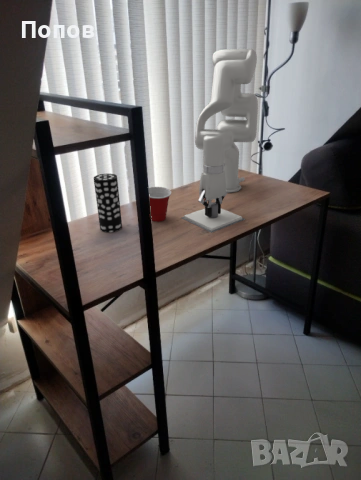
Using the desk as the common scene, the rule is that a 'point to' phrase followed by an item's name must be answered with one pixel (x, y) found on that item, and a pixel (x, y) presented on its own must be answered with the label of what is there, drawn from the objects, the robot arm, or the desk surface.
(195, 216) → the lid
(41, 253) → the desk surface
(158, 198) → the plastic cup
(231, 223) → the mat
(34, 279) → the desk surface
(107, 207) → the white-spotted black cylinder
